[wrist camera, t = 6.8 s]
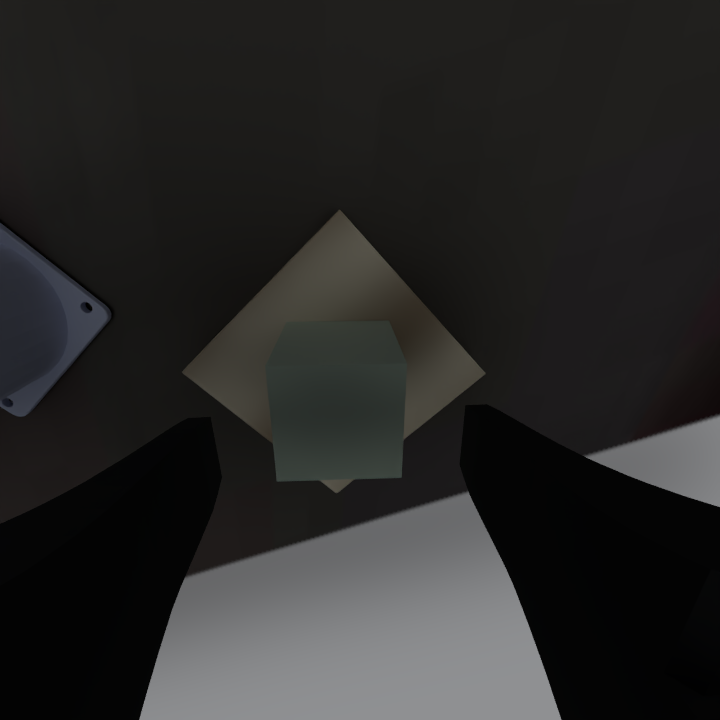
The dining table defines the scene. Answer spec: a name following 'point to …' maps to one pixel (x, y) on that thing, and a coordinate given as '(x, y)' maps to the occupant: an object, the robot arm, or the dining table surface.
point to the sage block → (337, 401)
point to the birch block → (333, 303)
